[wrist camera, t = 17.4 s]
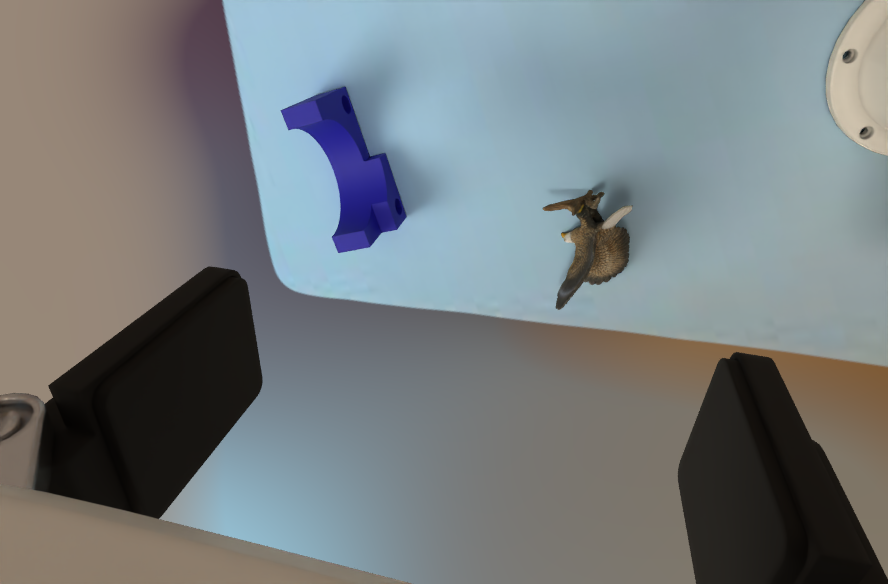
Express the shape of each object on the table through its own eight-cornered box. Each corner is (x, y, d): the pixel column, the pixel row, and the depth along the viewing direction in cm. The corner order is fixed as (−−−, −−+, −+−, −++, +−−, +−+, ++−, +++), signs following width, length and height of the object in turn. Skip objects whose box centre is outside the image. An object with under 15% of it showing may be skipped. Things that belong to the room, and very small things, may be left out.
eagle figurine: (519, 203, 45) (537, 304, 48) (563, 208, 38) (580, 325, 41) (598, 183, 47) (611, 281, 49) (653, 184, 40) (664, 297, 43)
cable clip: (406, 216, 49) (386, 243, 44) (362, 225, 51) (338, 253, 46) (361, 81, 44) (332, 94, 39) (314, 96, 46) (280, 110, 41)
